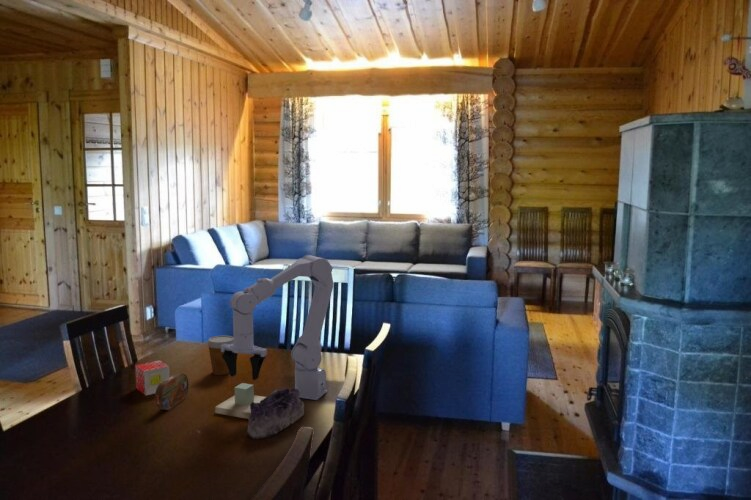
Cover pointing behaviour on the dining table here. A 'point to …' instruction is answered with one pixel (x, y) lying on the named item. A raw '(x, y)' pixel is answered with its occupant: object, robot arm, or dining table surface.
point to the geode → (274, 413)
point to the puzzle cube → (151, 376)
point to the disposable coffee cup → (218, 353)
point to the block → (244, 394)
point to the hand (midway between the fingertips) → (244, 377)
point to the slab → (236, 407)
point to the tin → (171, 391)
